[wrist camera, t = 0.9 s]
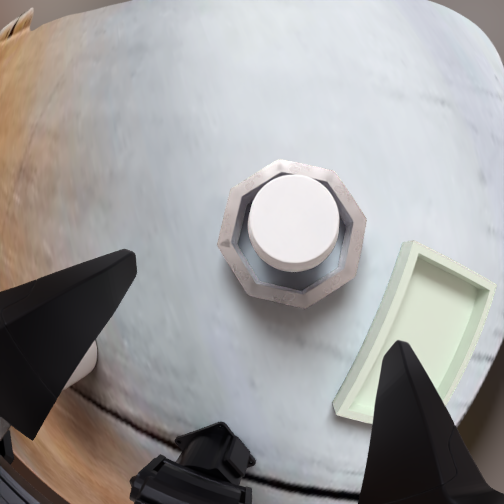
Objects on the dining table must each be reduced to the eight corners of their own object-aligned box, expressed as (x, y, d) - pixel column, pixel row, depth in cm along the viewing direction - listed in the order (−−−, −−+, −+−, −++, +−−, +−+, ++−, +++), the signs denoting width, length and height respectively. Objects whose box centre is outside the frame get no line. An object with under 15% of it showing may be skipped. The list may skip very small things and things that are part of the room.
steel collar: (272, 322, 24) (269, 330, 21) (207, 217, 25) (196, 211, 22) (376, 255, 23) (387, 254, 20) (309, 153, 24) (311, 139, 21)
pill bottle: (259, 202, 25) (240, 164, 15) (324, 202, 24) (347, 164, 14) (258, 268, 24) (238, 273, 14) (325, 269, 24) (350, 274, 14)
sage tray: (419, 423, 22) (427, 434, 19) (332, 402, 23) (335, 414, 20) (482, 283, 21) (496, 284, 19) (402, 242, 23) (413, 240, 20)
